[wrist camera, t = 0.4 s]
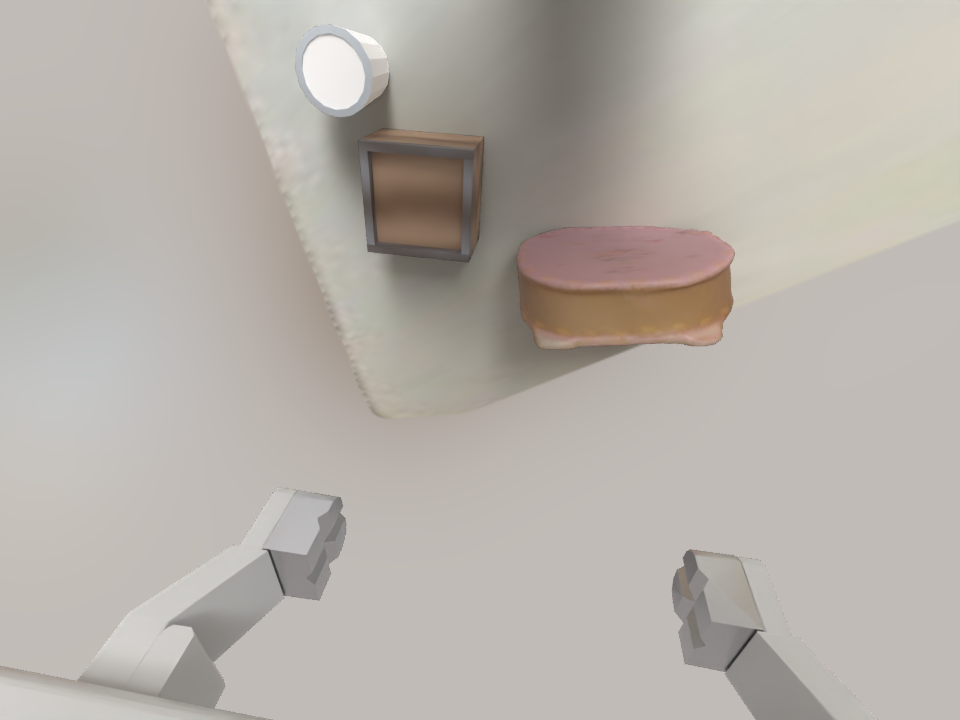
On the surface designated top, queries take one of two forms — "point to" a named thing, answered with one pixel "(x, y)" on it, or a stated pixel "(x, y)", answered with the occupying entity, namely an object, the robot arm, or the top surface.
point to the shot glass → (340, 69)
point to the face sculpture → (624, 286)
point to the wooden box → (422, 193)
